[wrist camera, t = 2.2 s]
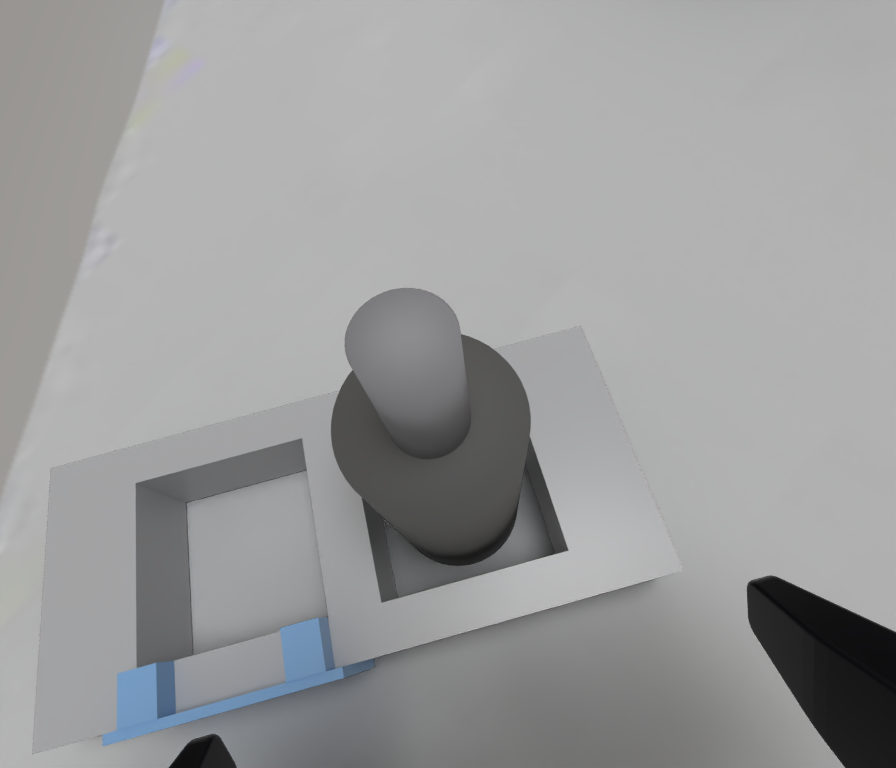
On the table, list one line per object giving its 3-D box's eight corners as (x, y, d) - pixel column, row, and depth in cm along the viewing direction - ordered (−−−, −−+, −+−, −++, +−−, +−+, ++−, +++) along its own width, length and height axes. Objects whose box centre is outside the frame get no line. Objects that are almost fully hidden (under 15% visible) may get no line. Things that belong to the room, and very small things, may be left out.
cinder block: (658, 587, 20) (699, 577, 16) (107, 742, 19) (3, 774, 15) (570, 365, 24) (584, 311, 20) (111, 489, 23) (29, 460, 19)
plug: (457, 593, 21) (391, 542, 8) (376, 504, 22) (212, 343, 9) (542, 503, 22) (604, 330, 9) (458, 425, 23) (410, 185, 11)
